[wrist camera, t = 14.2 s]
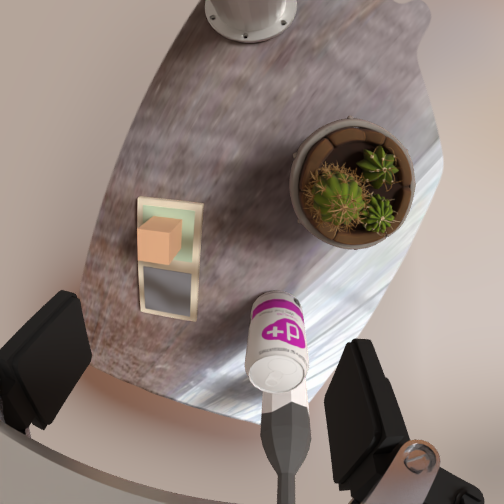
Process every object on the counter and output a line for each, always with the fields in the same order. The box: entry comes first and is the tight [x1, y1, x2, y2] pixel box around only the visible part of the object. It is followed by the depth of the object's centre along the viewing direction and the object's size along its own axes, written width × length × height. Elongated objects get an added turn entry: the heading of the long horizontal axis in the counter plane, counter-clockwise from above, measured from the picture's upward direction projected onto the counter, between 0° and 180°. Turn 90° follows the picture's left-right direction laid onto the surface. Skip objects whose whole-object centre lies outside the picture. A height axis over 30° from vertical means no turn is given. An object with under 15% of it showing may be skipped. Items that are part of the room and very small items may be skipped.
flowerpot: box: [289, 116, 416, 250], centre depth 31 cm, size 14×15×20 cm
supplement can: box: [245, 291, 309, 394], centre depth 42 cm, size 8×8×15 cm
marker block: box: [137, 216, 182, 265], centre depth 41 cm, size 4×4×6 cm
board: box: [137, 196, 204, 322], centre depth 46 cm, size 20×10×1 cm, turn 173°
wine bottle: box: [260, 377, 311, 504], centre depth 40 cm, size 8×8×30 cm
